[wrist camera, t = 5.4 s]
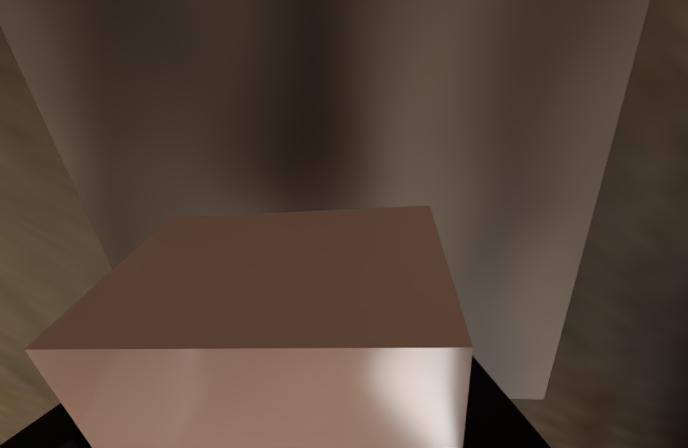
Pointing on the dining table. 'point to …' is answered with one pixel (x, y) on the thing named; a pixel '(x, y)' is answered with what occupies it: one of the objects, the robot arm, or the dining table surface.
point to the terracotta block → (269, 336)
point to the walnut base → (350, 129)
